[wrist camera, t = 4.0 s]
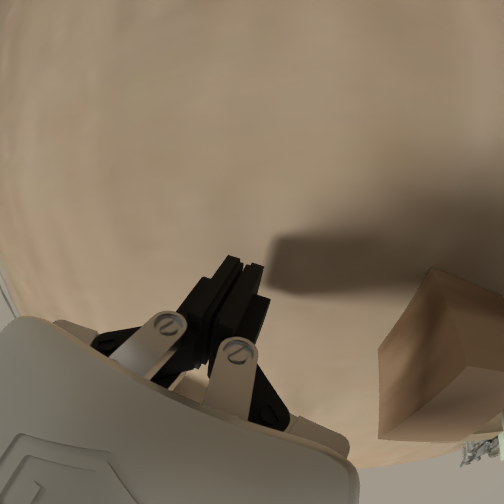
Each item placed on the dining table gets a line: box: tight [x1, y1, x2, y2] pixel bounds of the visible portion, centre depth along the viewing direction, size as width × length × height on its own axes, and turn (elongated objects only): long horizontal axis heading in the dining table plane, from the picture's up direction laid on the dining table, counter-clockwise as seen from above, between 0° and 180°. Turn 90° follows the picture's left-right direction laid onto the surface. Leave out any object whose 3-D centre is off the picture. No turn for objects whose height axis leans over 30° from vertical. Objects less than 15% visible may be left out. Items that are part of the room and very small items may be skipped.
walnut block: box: [378, 268, 504, 442], centre depth 9 cm, size 6×6×6 cm
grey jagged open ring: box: [460, 435, 500, 467], centre depth 15 cm, size 11×8×4 cm
